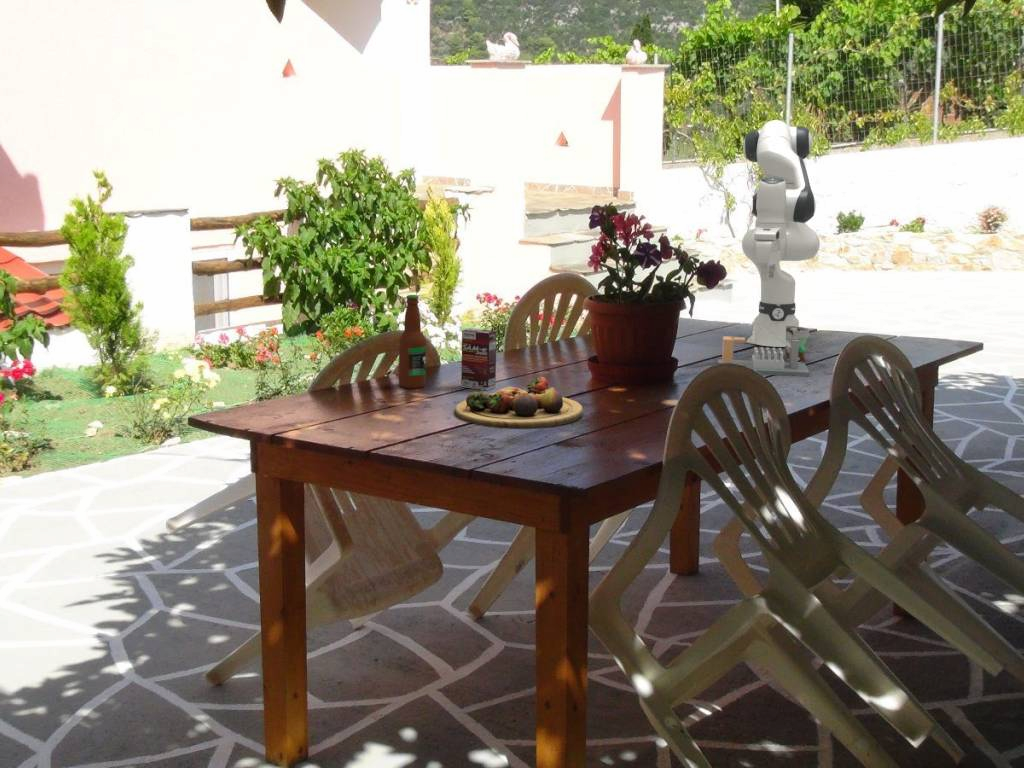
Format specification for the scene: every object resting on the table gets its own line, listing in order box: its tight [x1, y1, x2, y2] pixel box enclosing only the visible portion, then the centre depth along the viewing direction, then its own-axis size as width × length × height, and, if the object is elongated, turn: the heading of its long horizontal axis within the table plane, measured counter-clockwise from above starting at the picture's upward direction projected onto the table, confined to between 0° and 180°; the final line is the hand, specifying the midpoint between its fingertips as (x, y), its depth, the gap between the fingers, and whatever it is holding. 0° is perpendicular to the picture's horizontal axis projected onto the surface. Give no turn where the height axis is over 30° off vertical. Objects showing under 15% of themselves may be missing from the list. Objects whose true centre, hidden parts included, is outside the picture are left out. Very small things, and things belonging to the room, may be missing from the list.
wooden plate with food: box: [454, 376, 584, 429], centre depth 318 cm, size 32×32×8 cm
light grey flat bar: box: [752, 321, 792, 348], centre depth 382 cm, size 3×15×1 cm
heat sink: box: [717, 338, 810, 377], centre depth 383 cm, size 16×26×10 cm, turn 82°
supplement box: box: [460, 327, 498, 391], centre depth 349 cm, size 9×5×16 cm, turn 62°
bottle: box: [398, 294, 427, 390], centre depth 348 cm, size 7×7×25 cm
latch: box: [721, 336, 747, 363], centre depth 384 cm, size 6×6×8 cm
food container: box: [784, 326, 810, 363], centre depth 400 cm, size 12×6×10 cm, turn 179°
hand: (767, 279), depth 382 cm, fingers open, 8 cm apart
